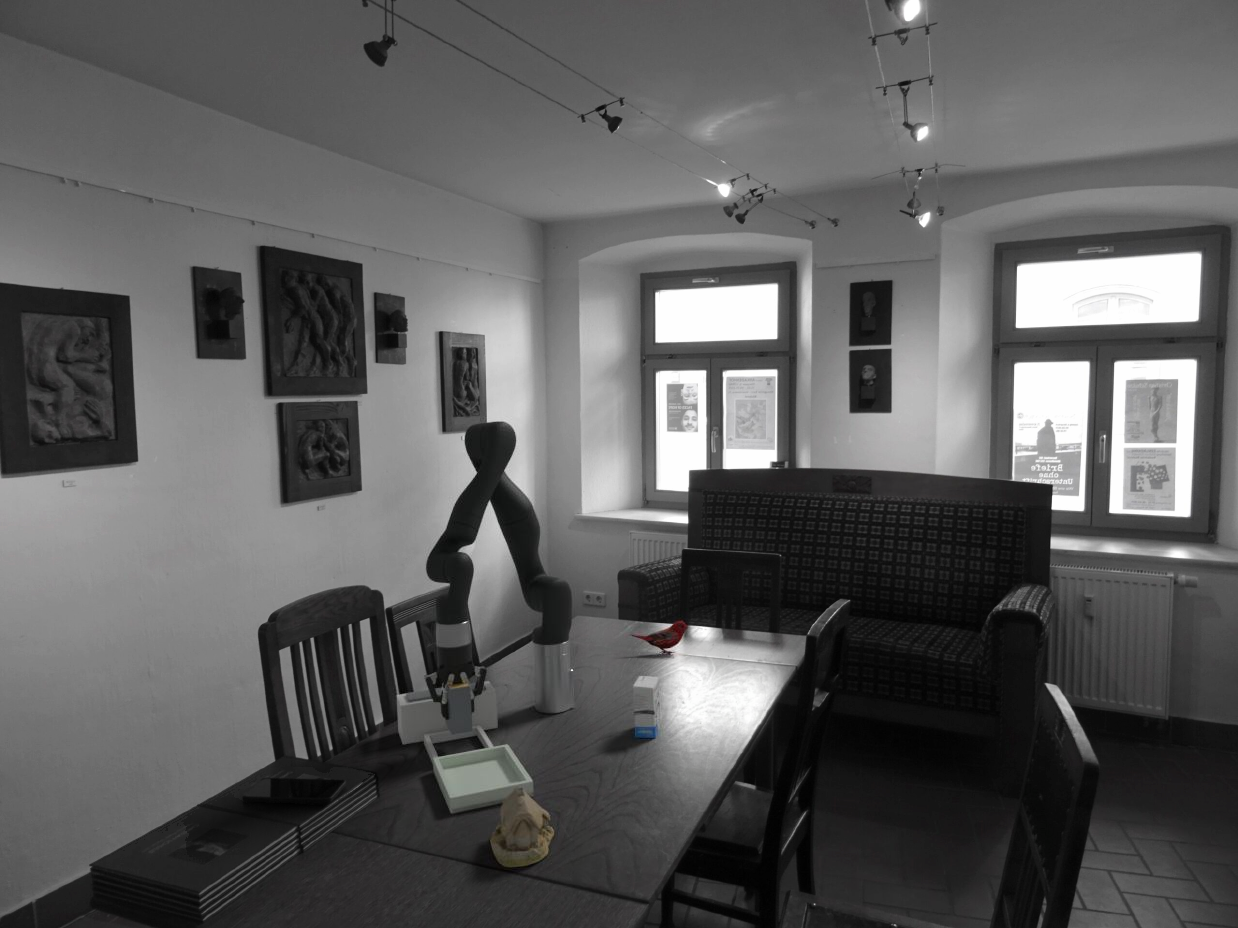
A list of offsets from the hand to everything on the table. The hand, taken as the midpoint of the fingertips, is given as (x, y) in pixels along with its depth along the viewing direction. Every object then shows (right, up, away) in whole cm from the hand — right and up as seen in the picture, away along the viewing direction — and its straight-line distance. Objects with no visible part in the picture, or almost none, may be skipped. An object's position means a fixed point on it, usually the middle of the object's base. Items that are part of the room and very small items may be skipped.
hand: (458, 716), depth 184 cm
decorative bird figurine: (+48, -2, +68) cm, 83 cm away
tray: (+8, -8, -17) cm, 20 cm away
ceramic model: (+19, -10, -41) cm, 46 cm away
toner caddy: (0, -2, 0) cm, 2 cm away
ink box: (+42, -6, +8) cm, 43 cm away
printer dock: (-2, -7, +5) cm, 9 cm away
